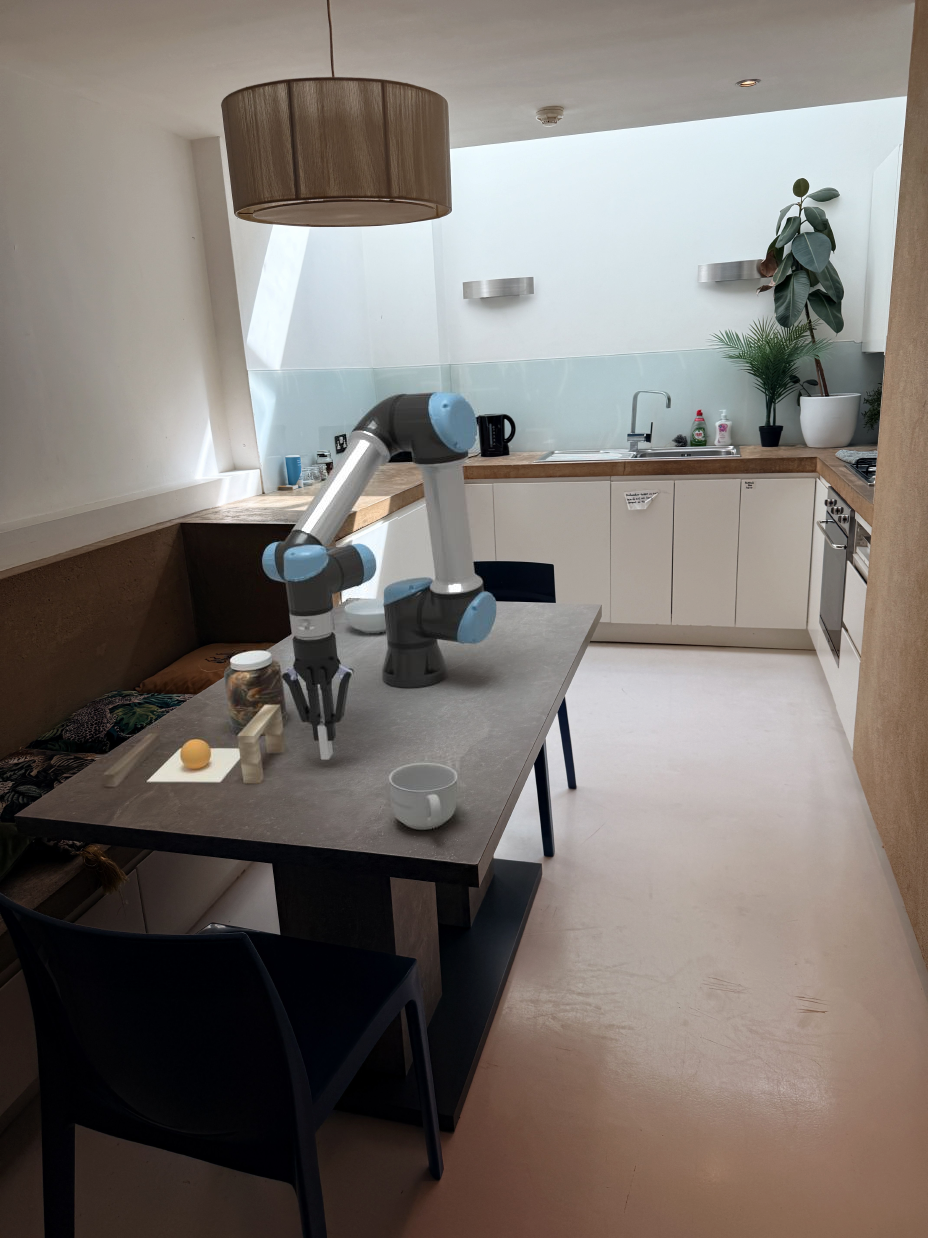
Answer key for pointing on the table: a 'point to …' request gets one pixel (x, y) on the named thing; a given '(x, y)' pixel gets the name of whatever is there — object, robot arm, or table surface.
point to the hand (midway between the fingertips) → (326, 756)
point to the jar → (253, 687)
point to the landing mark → (211, 772)
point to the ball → (195, 754)
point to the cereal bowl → (366, 615)
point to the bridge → (249, 742)
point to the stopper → (131, 760)
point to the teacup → (423, 794)
